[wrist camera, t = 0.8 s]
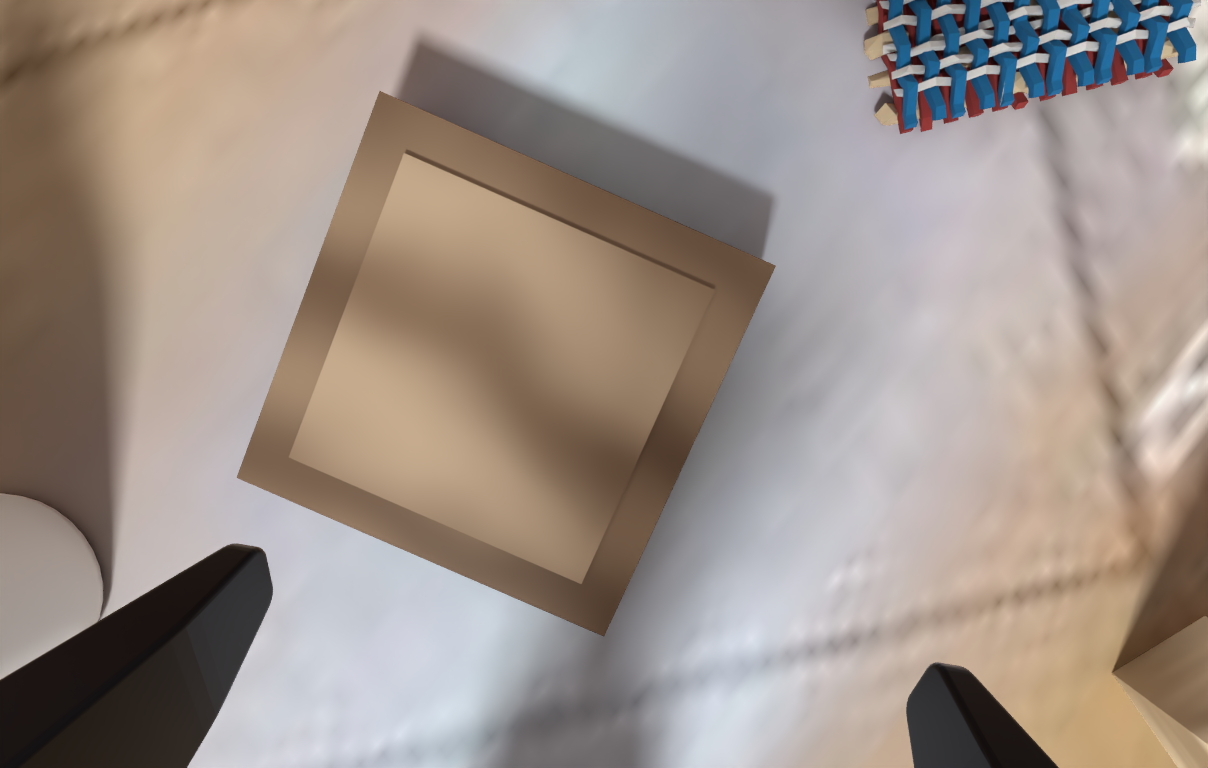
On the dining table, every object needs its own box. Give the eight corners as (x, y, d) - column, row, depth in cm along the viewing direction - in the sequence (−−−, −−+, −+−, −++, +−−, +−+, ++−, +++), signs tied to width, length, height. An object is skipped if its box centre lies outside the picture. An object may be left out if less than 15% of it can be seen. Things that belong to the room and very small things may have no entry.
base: (606, 603, 25) (603, 638, 22) (276, 460, 24) (234, 478, 22) (759, 270, 23) (776, 265, 20) (406, 115, 23) (377, 89, 20)
